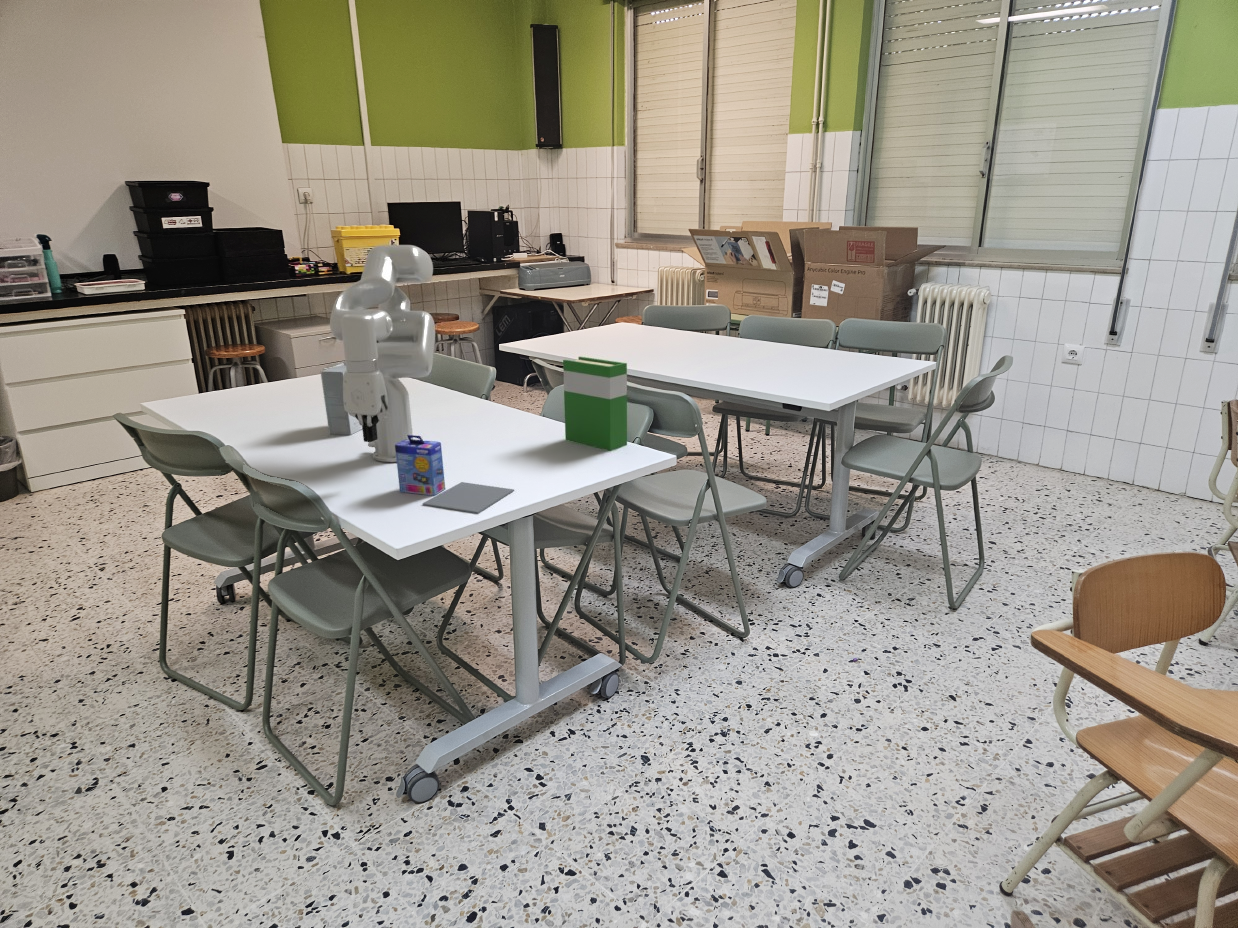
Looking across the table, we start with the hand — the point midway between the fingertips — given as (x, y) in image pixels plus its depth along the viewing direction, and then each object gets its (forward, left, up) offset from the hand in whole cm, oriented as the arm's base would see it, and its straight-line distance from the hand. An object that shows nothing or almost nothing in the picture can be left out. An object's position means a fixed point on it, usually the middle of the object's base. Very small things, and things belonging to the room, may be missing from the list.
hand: (370, 440), depth 186 cm
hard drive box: (-42, +40, -12) cm, 59 cm away
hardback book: (+36, +54, -12) cm, 66 cm away
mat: (+27, 0, -11) cm, 30 cm away
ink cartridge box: (+14, 0, -12) cm, 18 cm away
